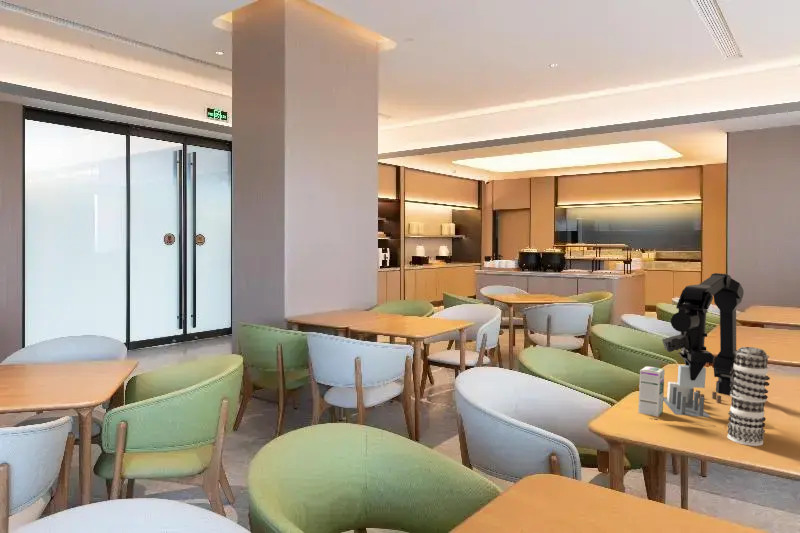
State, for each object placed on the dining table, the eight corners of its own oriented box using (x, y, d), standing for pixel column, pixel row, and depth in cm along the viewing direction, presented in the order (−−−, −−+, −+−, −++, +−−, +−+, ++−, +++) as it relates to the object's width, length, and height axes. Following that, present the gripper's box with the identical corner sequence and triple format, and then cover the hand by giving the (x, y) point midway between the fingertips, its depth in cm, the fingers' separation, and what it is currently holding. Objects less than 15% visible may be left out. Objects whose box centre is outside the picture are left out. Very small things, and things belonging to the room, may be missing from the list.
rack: (692, 403, 186) (693, 383, 185) (711, 421, 168) (712, 399, 168) (659, 400, 188) (660, 380, 187) (674, 418, 170) (676, 396, 170)
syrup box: (658, 420, 168) (661, 372, 166) (637, 416, 171) (640, 368, 170) (662, 415, 172) (665, 368, 171) (642, 411, 176) (645, 365, 175)
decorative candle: (717, 435, 156) (723, 346, 155) (741, 432, 160) (748, 344, 158) (748, 448, 148) (755, 353, 146) (773, 444, 151) (780, 351, 149)
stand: (717, 401, 188) (718, 391, 188) (724, 407, 182) (725, 396, 182) (691, 399, 190) (692, 389, 189) (697, 405, 184) (698, 394, 184)
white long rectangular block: (702, 385, 173) (703, 366, 173) (704, 388, 171) (705, 368, 170) (677, 384, 174) (678, 364, 174) (679, 386, 172) (680, 366, 172)
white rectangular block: (690, 401, 183) (691, 383, 183) (692, 403, 181) (693, 385, 181) (666, 399, 185) (668, 381, 184) (668, 401, 182) (670, 383, 182)
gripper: (658, 321, 182) (655, 369, 183) (674, 332, 164) (671, 385, 165) (695, 323, 180) (692, 372, 181) (716, 334, 162) (712, 388, 163)
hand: (691, 379), depth 172 cm, fingers closed on white long rectangular block, 2 cm apart
